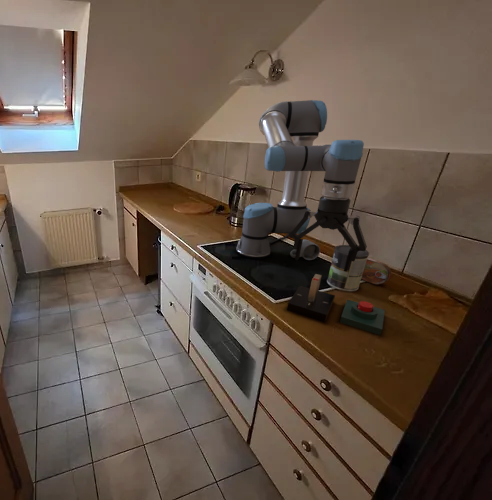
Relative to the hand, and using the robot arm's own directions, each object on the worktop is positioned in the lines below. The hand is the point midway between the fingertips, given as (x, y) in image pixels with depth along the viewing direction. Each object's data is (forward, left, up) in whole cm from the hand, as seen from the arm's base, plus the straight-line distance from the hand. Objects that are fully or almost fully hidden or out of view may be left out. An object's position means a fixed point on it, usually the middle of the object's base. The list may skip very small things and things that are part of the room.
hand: (320, 264), depth 93 cm
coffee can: (-23, +6, -16) cm, 29 cm away
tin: (-33, +12, -16) cm, 39 cm away
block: (-2, +14, -16) cm, 21 cm away
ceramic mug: (-41, -12, -16) cm, 46 cm away
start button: (-2, +14, -12) cm, 19 cm away
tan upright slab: (0, 0, -13) cm, 13 cm away
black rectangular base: (0, 0, -16) cm, 16 cm away
